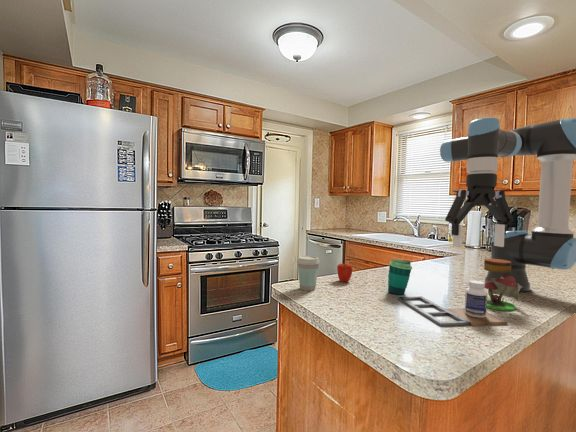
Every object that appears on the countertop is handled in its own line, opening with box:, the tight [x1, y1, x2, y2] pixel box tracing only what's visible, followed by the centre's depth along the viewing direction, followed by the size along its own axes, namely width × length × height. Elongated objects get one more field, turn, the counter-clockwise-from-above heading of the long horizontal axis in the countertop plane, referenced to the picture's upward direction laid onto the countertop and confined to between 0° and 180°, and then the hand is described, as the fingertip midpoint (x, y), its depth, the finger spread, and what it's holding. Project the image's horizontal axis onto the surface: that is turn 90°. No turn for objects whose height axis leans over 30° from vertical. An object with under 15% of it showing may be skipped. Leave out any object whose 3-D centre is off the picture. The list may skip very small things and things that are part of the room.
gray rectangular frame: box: [397, 295, 471, 327], centre depth 93 cm, size 9×23×1 cm, turn 8°
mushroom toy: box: [483, 258, 522, 312], centre depth 99 cm, size 12×13×15 cm
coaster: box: [445, 307, 508, 327], centre depth 89 cm, size 11×11×1 cm
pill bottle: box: [464, 280, 488, 318], centre depth 88 cm, size 5×5×10 cm
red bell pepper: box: [336, 263, 353, 283], centre depth 127 cm, size 6×6×8 cm
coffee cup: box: [296, 255, 320, 292], centre depth 115 cm, size 9×8×12 cm
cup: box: [387, 258, 413, 296], centre depth 112 cm, size 8×8×12 cm
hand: (478, 246), depth 88 cm, fingers open, 13 cm apart
